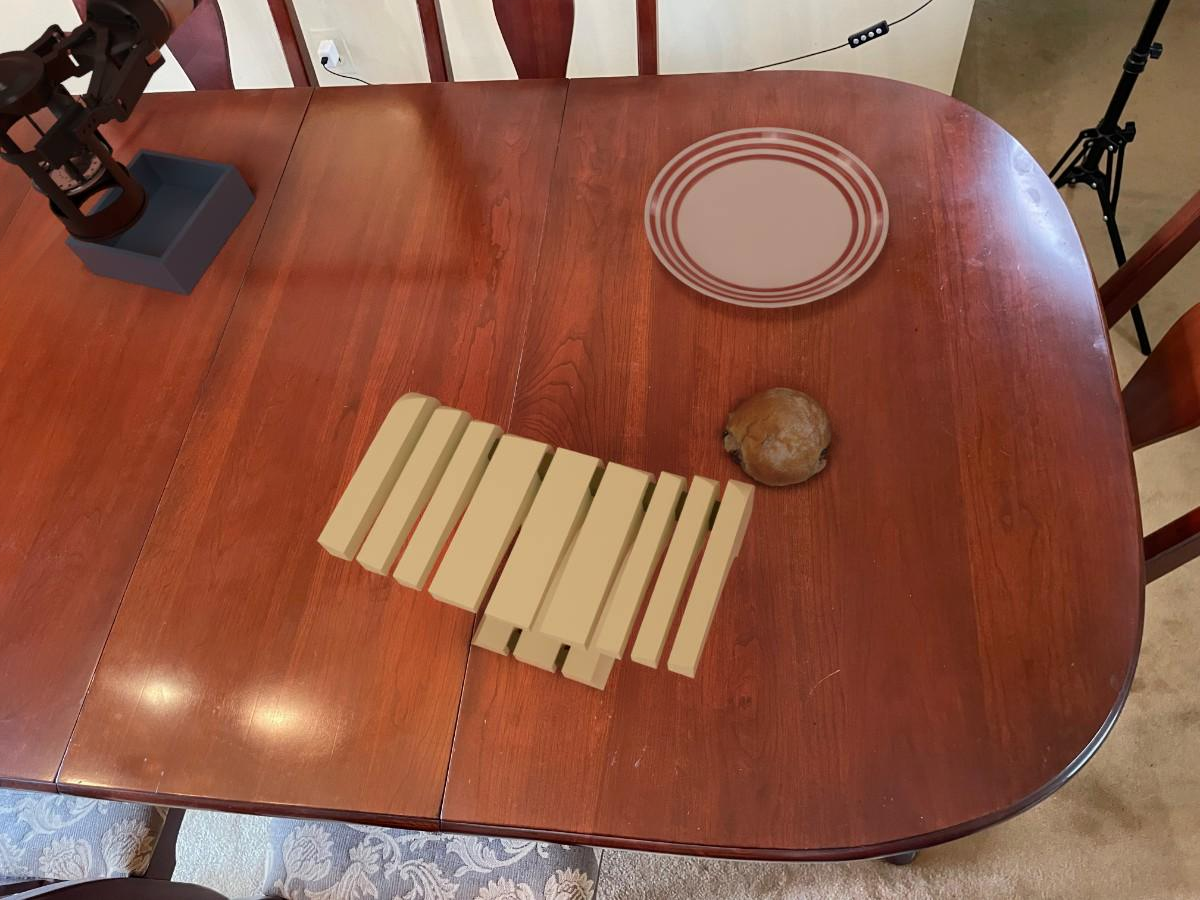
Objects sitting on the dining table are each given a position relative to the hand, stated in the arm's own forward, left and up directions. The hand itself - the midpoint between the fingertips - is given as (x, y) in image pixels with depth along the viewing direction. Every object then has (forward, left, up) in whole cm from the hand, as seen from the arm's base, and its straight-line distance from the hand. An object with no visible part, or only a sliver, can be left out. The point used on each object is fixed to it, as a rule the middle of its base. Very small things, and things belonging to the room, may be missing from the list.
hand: (8, 151), depth 82 cm
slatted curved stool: (+62, -19, -24) cm, 69 cm away
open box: (-3, +11, -24) cm, 27 cm away
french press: (0, +5, -12) cm, 13 cm away
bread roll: (+77, +1, -24) cm, 81 cm away
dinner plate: (+69, +29, -24) cm, 79 cm away
